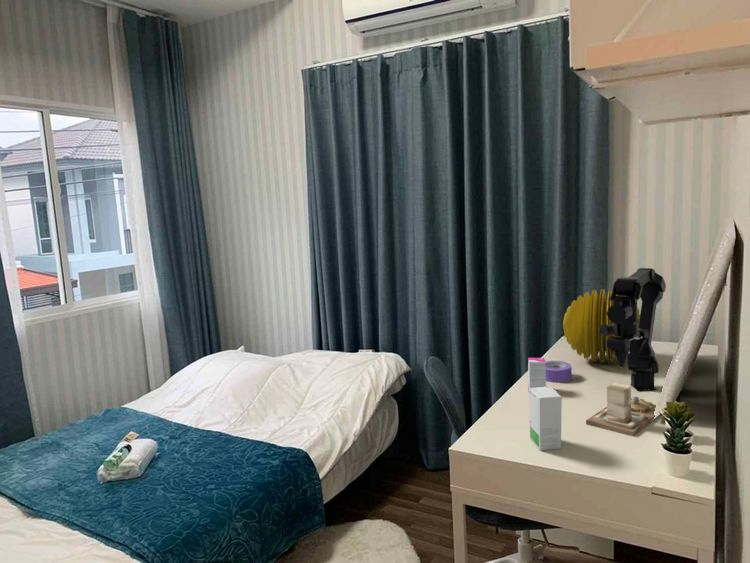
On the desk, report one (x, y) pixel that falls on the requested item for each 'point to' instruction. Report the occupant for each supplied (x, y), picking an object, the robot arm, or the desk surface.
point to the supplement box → (536, 372)
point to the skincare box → (545, 418)
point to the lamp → (589, 325)
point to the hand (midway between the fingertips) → (627, 363)
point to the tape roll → (558, 371)
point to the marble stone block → (619, 403)
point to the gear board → (640, 419)
